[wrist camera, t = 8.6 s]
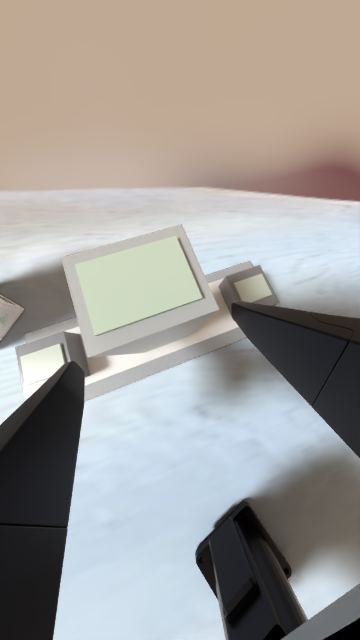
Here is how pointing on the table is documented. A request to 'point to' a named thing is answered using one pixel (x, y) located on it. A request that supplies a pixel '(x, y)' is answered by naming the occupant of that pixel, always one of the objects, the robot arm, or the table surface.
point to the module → (138, 293)
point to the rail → (135, 367)
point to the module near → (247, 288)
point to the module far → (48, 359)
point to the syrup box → (8, 315)
